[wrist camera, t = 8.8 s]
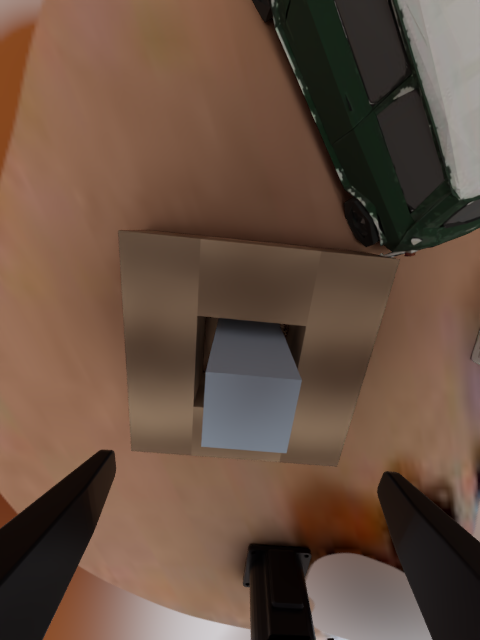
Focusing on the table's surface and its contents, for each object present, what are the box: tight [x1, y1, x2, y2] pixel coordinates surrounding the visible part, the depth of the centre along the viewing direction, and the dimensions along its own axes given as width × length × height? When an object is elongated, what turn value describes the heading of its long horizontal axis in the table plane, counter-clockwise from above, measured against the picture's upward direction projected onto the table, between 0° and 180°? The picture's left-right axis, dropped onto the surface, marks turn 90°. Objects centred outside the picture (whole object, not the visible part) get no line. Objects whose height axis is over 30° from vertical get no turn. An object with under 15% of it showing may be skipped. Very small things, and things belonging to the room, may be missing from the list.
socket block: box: [118, 230, 400, 467], centre depth 17 cm, size 14×14×4 cm
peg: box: [201, 318, 302, 453], centre depth 15 cm, size 4×4×8 cm
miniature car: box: [252, 0, 480, 257], centre depth 10 cm, size 9×18×8 cm, turn 31°
